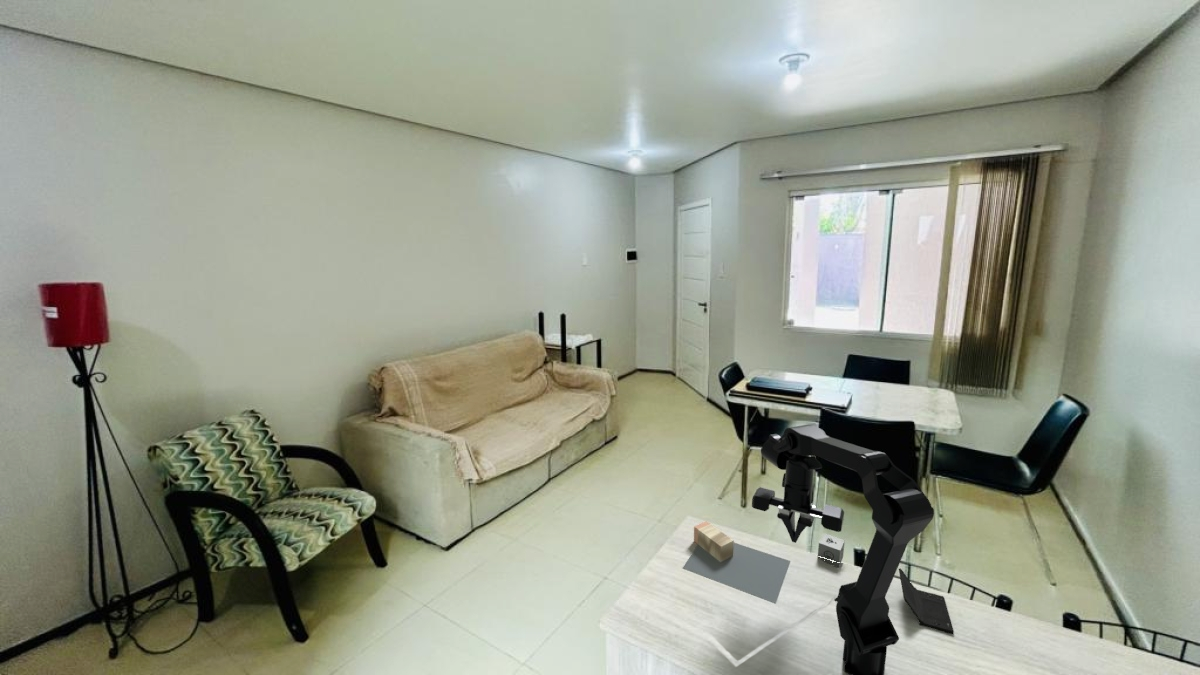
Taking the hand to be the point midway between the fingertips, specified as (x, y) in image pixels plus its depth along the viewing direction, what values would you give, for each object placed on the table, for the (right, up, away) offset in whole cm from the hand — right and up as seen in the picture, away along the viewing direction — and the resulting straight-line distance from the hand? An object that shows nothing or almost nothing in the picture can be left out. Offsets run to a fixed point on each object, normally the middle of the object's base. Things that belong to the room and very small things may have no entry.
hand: (794, 541), depth 107 cm
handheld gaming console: (+27, -14, -4) cm, 31 cm away
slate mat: (-10, -11, +11) cm, 19 cm away
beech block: (-12, -8, +12) cm, 19 cm away
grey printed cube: (+15, -10, +13) cm, 22 cm away
